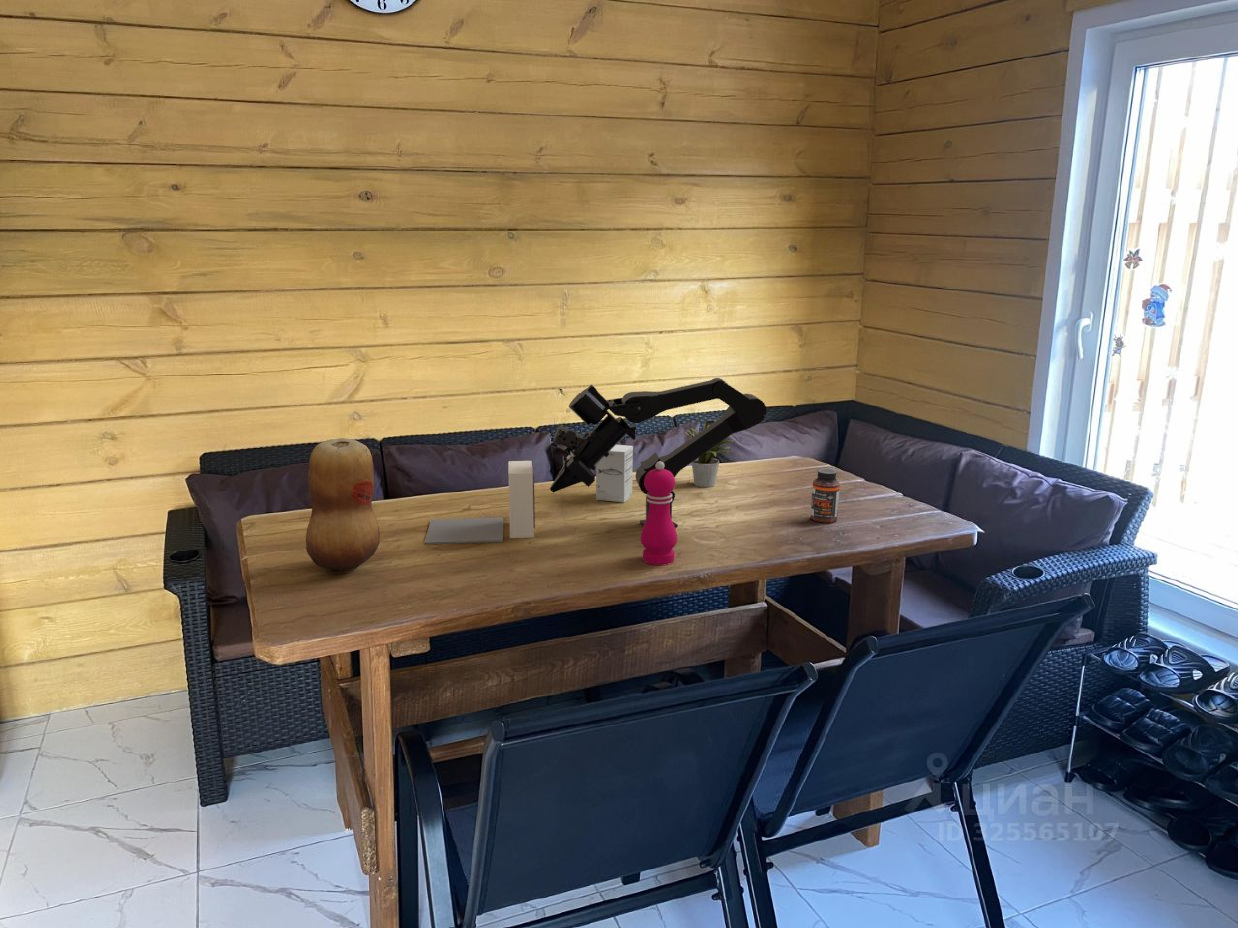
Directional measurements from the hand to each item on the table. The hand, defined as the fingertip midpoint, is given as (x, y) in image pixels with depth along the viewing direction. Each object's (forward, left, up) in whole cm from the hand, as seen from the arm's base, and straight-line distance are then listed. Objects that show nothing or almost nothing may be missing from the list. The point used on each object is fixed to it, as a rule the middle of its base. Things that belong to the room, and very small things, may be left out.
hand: (551, 490), depth 206 cm
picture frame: (+2, +6, -9) cm, 11 cm away
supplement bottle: (-18, -58, -9) cm, 62 cm away
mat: (+6, +18, -9) cm, 20 cm away
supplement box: (+17, -22, -9) cm, 29 cm away
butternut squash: (-7, +45, -9) cm, 46 cm away
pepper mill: (-27, -12, -9) cm, 31 cm away
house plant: (+18, -47, -9) cm, 51 cm away
